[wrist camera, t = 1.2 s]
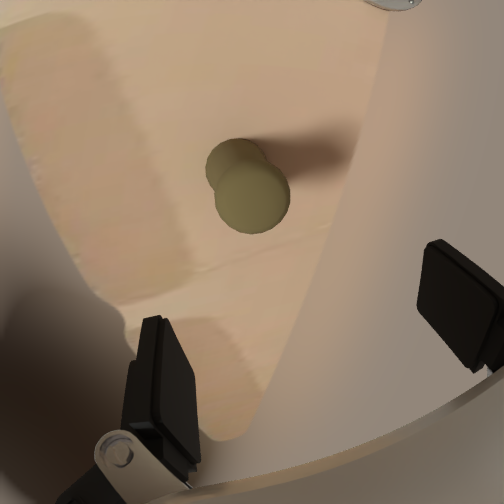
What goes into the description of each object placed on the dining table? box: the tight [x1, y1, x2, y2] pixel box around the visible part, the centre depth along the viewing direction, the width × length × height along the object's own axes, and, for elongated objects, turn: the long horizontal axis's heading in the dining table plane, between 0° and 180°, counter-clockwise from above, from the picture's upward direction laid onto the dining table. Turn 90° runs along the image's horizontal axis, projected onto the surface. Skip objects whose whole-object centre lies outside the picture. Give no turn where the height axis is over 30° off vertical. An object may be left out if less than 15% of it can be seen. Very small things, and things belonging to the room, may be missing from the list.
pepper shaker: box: [205, 139, 290, 234], centre depth 24 cm, size 6×6×11 cm
